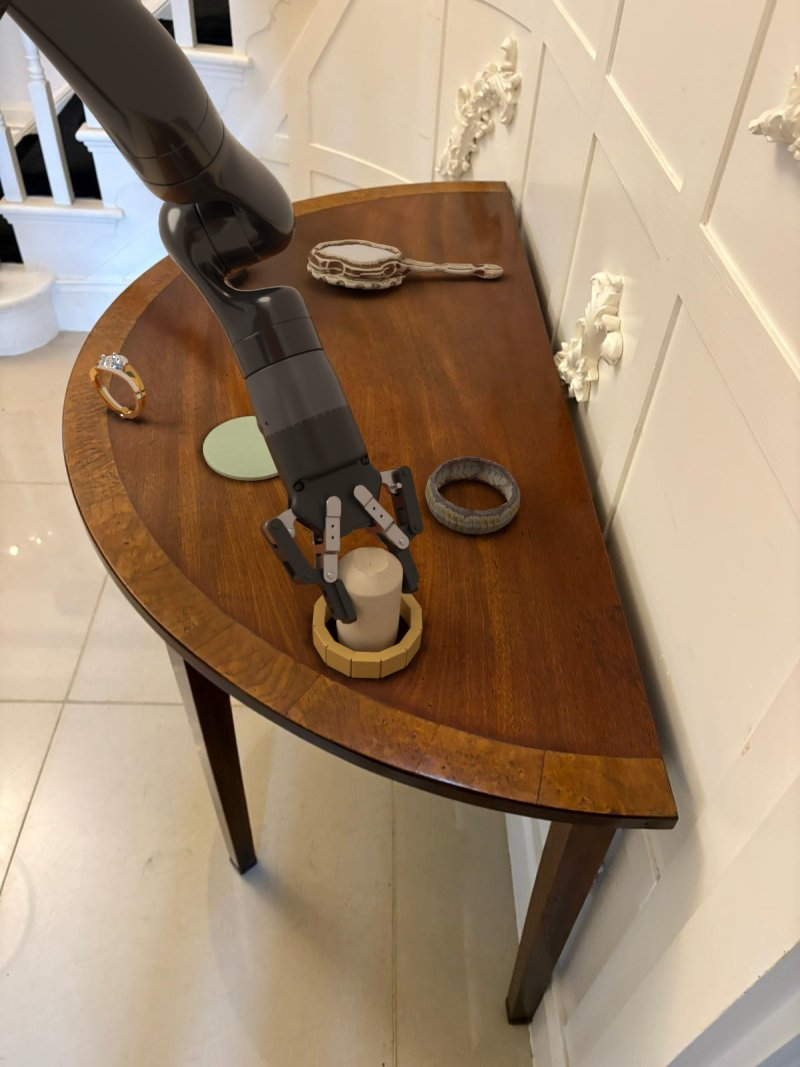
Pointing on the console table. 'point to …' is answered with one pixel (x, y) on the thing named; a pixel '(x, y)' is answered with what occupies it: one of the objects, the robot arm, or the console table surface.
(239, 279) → the watch
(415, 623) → the segmented bracelet
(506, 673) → the console table surface
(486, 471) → the decorative ring
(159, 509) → the console table surface
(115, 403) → the ring
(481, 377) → the console table surface
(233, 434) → the coaster
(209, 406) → the console table surface
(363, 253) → the hand mirror
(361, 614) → the candle
